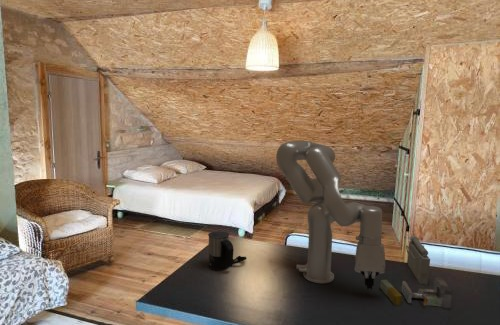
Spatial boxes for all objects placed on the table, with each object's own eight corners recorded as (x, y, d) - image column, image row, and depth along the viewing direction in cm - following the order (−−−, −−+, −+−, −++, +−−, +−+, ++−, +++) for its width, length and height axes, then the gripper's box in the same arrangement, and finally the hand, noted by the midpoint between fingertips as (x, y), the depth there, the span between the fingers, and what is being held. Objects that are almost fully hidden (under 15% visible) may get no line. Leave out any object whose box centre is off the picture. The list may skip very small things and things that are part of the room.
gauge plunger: (409, 305, 118) (410, 294, 117) (401, 291, 127) (402, 280, 127) (443, 309, 116) (444, 297, 116) (432, 294, 126) (433, 283, 125)
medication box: (379, 288, 130) (380, 279, 130) (386, 288, 131) (386, 278, 130) (394, 306, 119) (395, 295, 118) (402, 305, 119) (402, 295, 118)
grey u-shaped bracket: (427, 306, 118) (429, 288, 117) (419, 293, 127) (420, 276, 126) (450, 308, 117) (452, 290, 116) (439, 295, 126) (441, 277, 125)
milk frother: (203, 267, 145) (203, 234, 143) (225, 255, 159) (225, 225, 157) (230, 276, 138) (230, 242, 136) (250, 262, 151) (250, 231, 149)
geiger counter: (434, 252, 132) (416, 231, 156) (417, 250, 133) (401, 230, 157) (430, 285, 134) (413, 259, 158) (413, 283, 135) (399, 258, 159)
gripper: (350, 242, 120) (349, 290, 122) (394, 244, 118) (392, 293, 120) (348, 235, 127) (347, 281, 129) (389, 237, 125) (387, 283, 127)
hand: (368, 287), depth 124 cm, fingers closed
